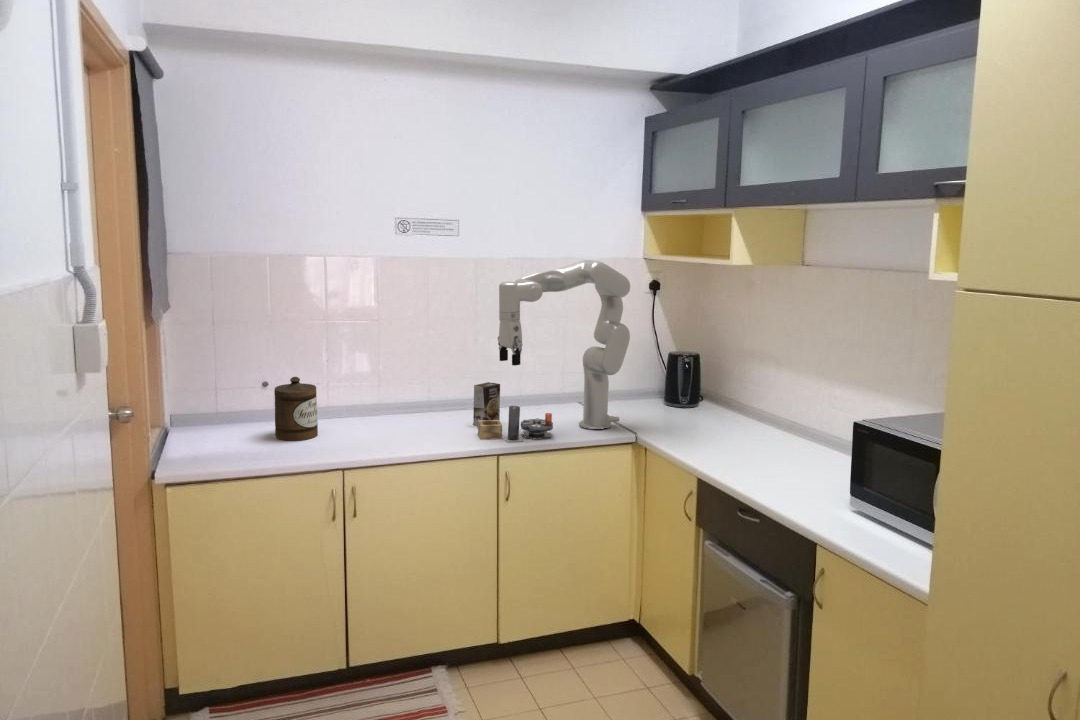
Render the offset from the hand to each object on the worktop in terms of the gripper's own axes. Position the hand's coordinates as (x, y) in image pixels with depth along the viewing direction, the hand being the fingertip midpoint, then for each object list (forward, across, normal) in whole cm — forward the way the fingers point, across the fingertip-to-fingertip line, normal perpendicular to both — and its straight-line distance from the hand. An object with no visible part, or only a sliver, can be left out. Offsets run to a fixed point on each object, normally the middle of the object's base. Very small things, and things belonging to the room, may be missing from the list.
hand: (509, 362), depth 286 cm
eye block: (+28, +5, +6) cm, 29 cm away
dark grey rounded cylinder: (+28, -4, +1) cm, 28 cm away
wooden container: (+27, +36, +69) cm, 83 cm away
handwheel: (+25, -2, -10) cm, 27 cm away
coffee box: (+28, +21, 0) cm, 35 cm away
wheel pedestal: (+28, -2, -10) cm, 30 cm away
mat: (+28, -4, 0) cm, 28 cm away
